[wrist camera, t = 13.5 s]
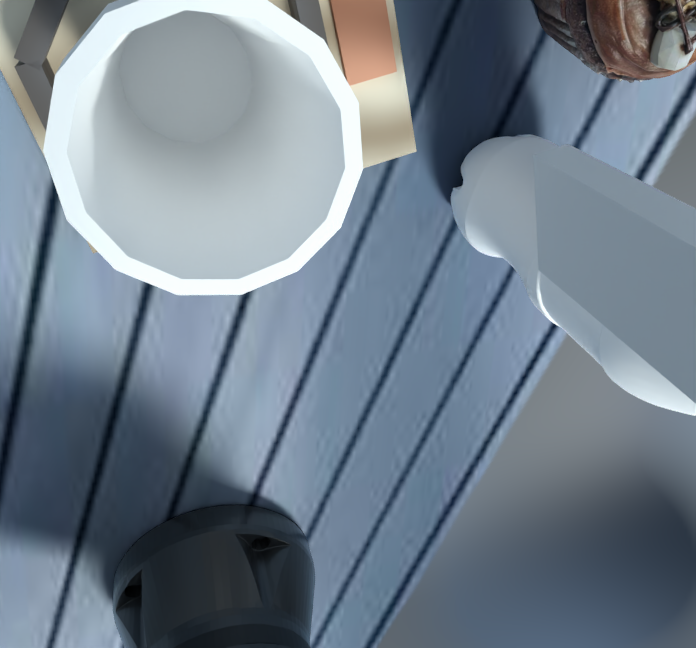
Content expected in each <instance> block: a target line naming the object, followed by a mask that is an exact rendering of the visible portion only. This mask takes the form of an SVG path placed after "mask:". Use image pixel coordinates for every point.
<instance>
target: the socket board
mask: <svg viewBox="0 0 696 648" xmlns="http://www.w3.org/2000/svg"><path fill="white" fill-rule="evenodd" d="M114 1H117V0H0V69H1V71H2V73H3V75H4V77H5V79H6V81H7V83H8V85H9V87H10V89H11V91H12V93H13V95H14V97H15V99H16V101H17V103H18V105H19V107H20V109H21V111H22V113H23V115H24V117H25V119H26V121H27V123H28V125H29V127H30V129H31V131H32V133H33V135H34V137H35V139H36V141H37V143H38V145H39V147H40V149H41V151H42V153H43V155H44V152H43V148H44V142H45V135H46V129H47V123H48V116H49V110H50V104H51V97H52V91H53V85H54V79H55V74H56V72H57V70H58V69H59V67H60V65H61V63H62V61H63V59H64V58H65V57H66V55H67V54H68V53H69V52H70V50H71V49H72V48H73V47H74V45H75V44H76V43H77V42H78V41H79V39H80V38H81V37H82V36H83V34H84V33H85V32H86V31H87V29H88V28H89V27H90V26H91V24H92V23H93V22H94V21H95V19H96V18H97V17H98V16H99V14H100V13H101V12H102V11H103V9H104V8H105V7H106V6H107V5H108V4H109V3H112V2H114ZM268 1H269V2H271V3H272V4H274V5H275V6H276V7H278V8H279V9H281V10H282V11H284V12H285V13H286V14H288V15H289V16H291V17H292V18H294V19H295V20H296V21H298V22H299V23H301V24H302V25H304V26H305V27H307V28H308V29H309V30H311V31H312V32H314V33H315V34H317V35H318V36H319V37H321V38H322V39H324V41H325V43H326V44H327V46H328V48H329V50H330V52H331V53H332V55H333V57H334V59H335V61H336V62H337V64H338V66H339V68H340V70H341V71H342V73H343V75H344V77H345V79H346V80H347V82H348V84H349V86H350V88H351V89H352V91H353V93H354V95H355V97H356V98H357V100H358V102H359V114H360V129H361V144H362V160H363V168H365V167H369V166H372V165H375V164H378V163H381V162H384V161H388V160H391V159H394V158H397V157H400V156H403V155H407V154H410V153H413V152H416V145H415V139H414V132H413V125H412V119H411V112H410V106H409V99H408V93H407V86H406V80H405V73H404V67H403V60H402V54H401V47H400V40H399V34H398V27H397V21H396V14H395V8H394V1H393V0H268ZM44 157H45V155H44ZM45 159H46V158H45ZM87 242H88V241H87ZM88 244H89V246H90V248H91V250H92V252H93V253H96V252H98V251H97V250H96V249H95V248H94V247H93V246H92V245H91V244H90V243H89V242H88Z"/></svg>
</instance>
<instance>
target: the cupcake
mask: <svg viewBox="0 0 696 648" xmlns="http://www.w3.org/2000/svg"><path fill="white" fill-rule="evenodd" d="M534 2H535V4H536V6H537V7H538V17H539V20H540V23H541V26H542V28H543V29H544V31H545V32H546V33H547V34H548V35H549V36H550V37H552V38H553V39H554V40H555V41H557V42H558V43H559V44H560V45H562V46H563V47H564V48H565V49H567V50H568V51H569V52H571V53H572V54H573V55H575V56H576V57H577V58H579V59H580V60H581V61H582V62H583V63H584V64H585V65H586V66H587V67H589V68H590V69H592V70H593V71H594V72H596V73H597V74H599V73H601V74H602V75H604V76H605V77H607V78H611V79H617V80H618V81H620V82H621V81H622V80H627V81H629V82H630V83H631V82H634V80H638V81H639V82H641V81H643V80H650V79H652V78H662V77H667V76H670V75H672V74H675V73H677V72H679V71H681V70H683V69H685V68H686V67H688V66H689V65H691V64H692V63H694V62H695V61H696V0H534Z"/></svg>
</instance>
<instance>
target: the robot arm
mask: <svg viewBox="0 0 696 648" xmlns="http://www.w3.org/2000/svg"><path fill="white" fill-rule="evenodd" d="M533 160H534V182H535V205H536V227H537V250H538V270H539V271H540V272H541V273H542V274H544V275H545V276H546V277H547V278H548V279H550V280H551V281H552V282H553V283H554V284H555V285H557V286H558V287H559V288H560V289H561V290H562V291H564V292H565V293H566V294H567V295H568V296H570V297H571V298H572V299H573V300H574V301H575V302H577V303H578V304H579V305H580V306H581V307H583V308H584V309H585V310H586V311H587V312H588V313H590V314H591V315H592V316H593V317H594V318H595V319H597V320H598V321H599V322H600V323H601V324H603V325H604V326H605V327H606V328H607V329H608V330H610V331H611V332H612V333H613V334H614V335H615V336H617V337H618V338H619V339H620V340H621V341H623V342H624V343H625V344H626V345H627V346H628V347H630V348H631V349H632V350H633V351H634V352H635V353H637V354H638V355H639V356H640V357H641V358H643V359H644V360H645V361H646V362H647V363H648V364H650V365H651V366H652V367H653V368H654V369H656V370H657V371H658V372H659V373H660V374H661V375H663V376H664V377H665V378H666V379H667V380H668V381H670V382H671V383H672V384H673V385H674V386H676V387H677V388H678V389H679V390H680V391H681V392H683V393H684V394H685V395H686V396H687V397H688V398H690V399H691V400H692V401H693V402H694V403H696V208H694V207H692V206H690V205H688V204H686V203H684V202H682V201H680V200H678V199H676V198H674V197H672V196H670V195H668V194H666V193H664V192H662V191H660V190H658V189H656V188H654V187H652V186H650V185H648V184H646V183H644V182H642V181H640V180H638V179H636V178H634V177H632V176H630V175H628V174H626V173H624V172H622V171H620V170H618V169H616V168H614V167H612V166H610V165H608V164H606V163H604V162H602V161H600V160H598V159H596V158H594V157H592V156H590V155H588V154H586V153H584V152H582V151H580V150H578V149H576V148H575V147H573V146H571V145H569V144H565V145H562V146H559V147H556V148H553V149H550V150H547V151H544V152H541V153H537V154H534V155H533ZM314 587H315V570H314V564H313V560H312V556H311V553H310V549H309V545H308V542H307V540H306V538H305V536H304V534H303V532H302V531H301V530H300V529H299V528H298V526H297V525H296V524H294V523H293V522H292V521H291V520H289V519H288V518H286V517H284V516H282V515H280V514H278V513H276V512H273V511H270V510H267V509H263V508H259V507H253V506H243V505H227V506H216V507H210V508H204V509H200V510H196V511H192V512H189V513H186V514H183V515H180V516H178V517H175V518H173V519H171V520H169V521H166V522H165V523H163V524H161V525H159V526H157V527H156V528H154V529H152V530H151V531H150V532H148V533H147V534H145V535H144V536H143V537H141V538H140V539H139V540H138V541H137V542H136V543H135V544H134V545H133V546H132V547H131V548H130V549H129V550H128V552H127V553H126V554H125V556H124V557H123V559H122V560H121V562H120V564H119V566H118V568H117V571H116V574H115V578H114V589H113V614H114V620H115V624H116V626H117V629H118V632H119V634H120V637H121V640H122V642H123V645H124V648H310V632H311V621H312V609H313V598H314Z"/></svg>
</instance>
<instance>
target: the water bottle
mask: <svg viewBox="0 0 696 648" xmlns="http://www.w3.org/2000/svg"><path fill="white" fill-rule="evenodd" d="M556 147H559V146H558V145H556V144H555V143H553V142H551V141H549V140H547V139H544V138H542V137H539V136H535V135H531V134H526V135H517V136H515V137H510V136H504V137H497V138H492V139H489V140H486V141H484V142H482V143H480V144H479V145H477V146H476V147H475V148H473V149H472V150H471V151H470V152H469V153H468V154H467V156H466V157H465V159H464V161H463V163H462V165H461V174H462V177H463V185H462V186H460V187H456V188H453V191H452V194H451V206H452V211H453V215H454V218H455V221H456V223H457V225H458V227H459V229H460V231H461V233H462V234H463V235H464V237H465V238H466V239H467V241H468V242H469V243H470V244H471V245H472V246H473V247H474V248H475V249H477V250H478V251H480V252H481V253H483V254H486V255H489V256H493V257H502V258H504V259H505V260H506V261H508V262H509V263H510V265H511V266H512V267H513V268H514V269H515V270H516V272H517V273H518V275H519V276H520V278H521V280H522V282H523V284H524V286H525V288H526V290H527V293H528V295H529V297H530V299H531V301H532V303H533V304H534V305H535V306H536V307H537V308H538V310H539V311H541V312H542V313H543V314H544V315H545V316H546V317H547V318H548V319H549V320H550V321H551V322H553V323H554V324H556V325H558V326H559V327H561V328H562V329H563V330H565V331H566V332H567V333H568V334H569V335H570V336H571V337H572V338H573V339H574V340H575V341H576V342H577V343H578V344H579V345H580V346H581V347H582V348H583V349H584V350H586V351H587V352H588V353H589V354H590V355H591V356H592V357H593V358H594V359H595V360H596V361H597V362H598V363H599V364H600V365H601V366H602V367H603V368H604V370H605V372H606V374H607V375H608V376H609V377H610V378H611V380H612V381H614V382H615V383H616V384H618V385H619V386H620V387H621V388H623V389H624V390H625V391H627V392H628V393H630V394H632V395H634V396H636V397H638V398H639V399H642V400H644V401H646V402H648V403H651V404H653V405H656V406H659V407H663V408H666V409H670V410H674V411H677V412H681V413H685V414H690V415H694V416H696V403H694V402H693V401H692V400H691V399H690V398H688V397H687V396H686V395H685V394H684V393H683V392H681V391H680V390H679V389H678V388H677V387H676V386H674V385H673V384H672V383H671V382H670V381H668V380H667V379H666V378H665V377H664V376H663V375H661V374H660V373H659V372H658V371H657V370H656V369H654V368H653V367H652V366H651V365H650V364H648V363H647V362H646V361H645V360H644V359H643V358H641V357H640V356H639V355H638V354H637V353H635V352H634V351H633V350H632V349H631V348H630V347H628V346H627V345H626V344H625V343H624V342H623V341H621V340H620V339H619V338H618V337H617V336H615V335H614V334H613V333H612V332H611V331H610V330H608V329H607V328H606V327H605V326H604V325H603V324H601V323H600V322H599V321H598V320H597V319H595V318H594V317H593V316H592V315H591V314H590V313H588V312H587V311H586V310H585V309H584V308H583V307H581V306H580V305H579V304H578V303H577V302H575V301H574V300H573V299H572V298H571V297H570V296H568V295H567V294H566V293H565V292H564V291H562V290H561V289H560V288H559V287H558V286H557V285H555V284H554V283H553V282H552V281H551V280H550V279H548V278H547V277H546V276H545V275H544V274H542V273H541V272H540V271H539V270H538V250H537V227H536V205H535V182H534V160H533V155H534V154H537V153H541V152H544V151H547V150H550V149H553V148H556Z"/></svg>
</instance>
